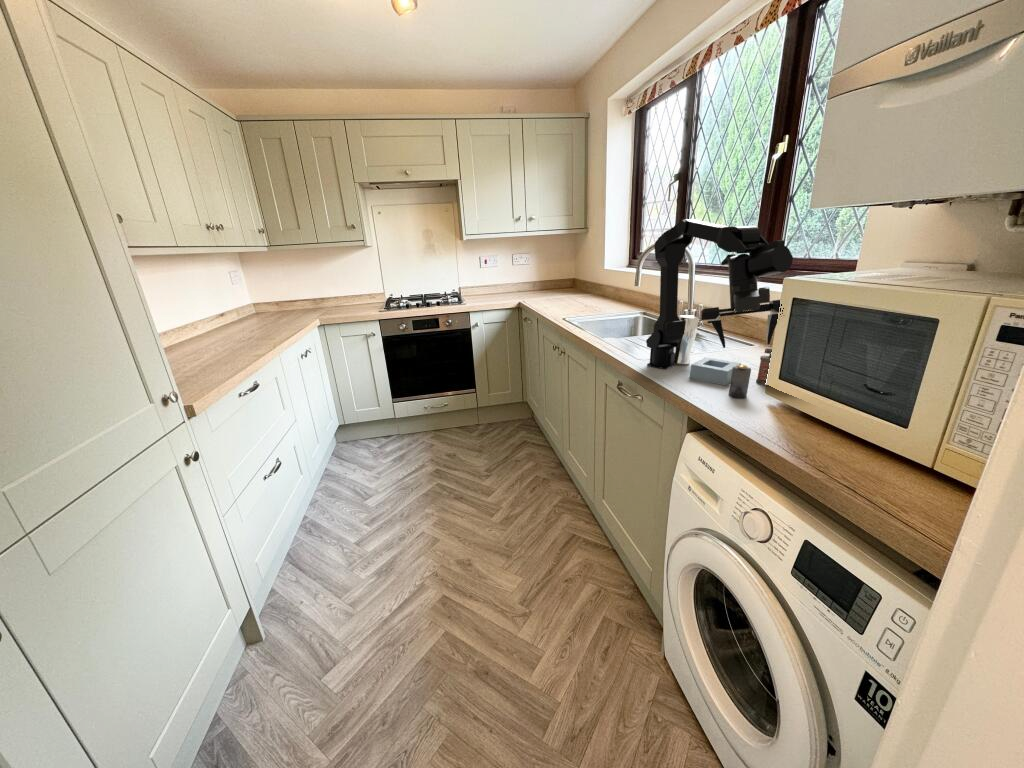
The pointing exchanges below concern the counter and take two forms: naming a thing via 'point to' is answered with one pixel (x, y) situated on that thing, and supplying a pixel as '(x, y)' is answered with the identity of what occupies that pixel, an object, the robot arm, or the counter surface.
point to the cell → (739, 382)
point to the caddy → (713, 370)
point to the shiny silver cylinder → (686, 339)
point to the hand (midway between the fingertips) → (745, 346)
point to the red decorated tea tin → (764, 367)
